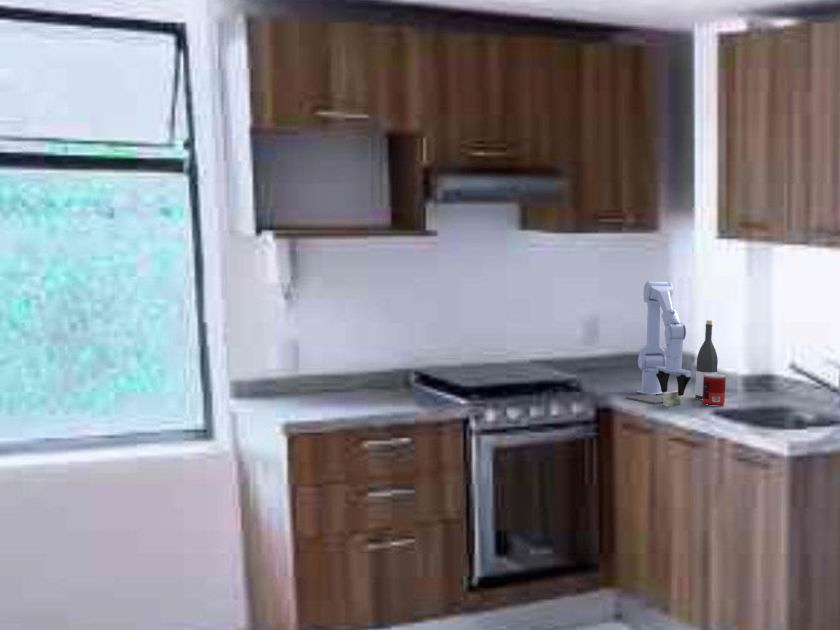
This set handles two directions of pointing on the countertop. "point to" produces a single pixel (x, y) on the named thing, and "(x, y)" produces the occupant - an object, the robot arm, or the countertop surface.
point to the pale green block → (671, 398)
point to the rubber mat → (647, 398)
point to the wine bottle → (705, 360)
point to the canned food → (714, 389)
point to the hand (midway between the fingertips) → (672, 393)
